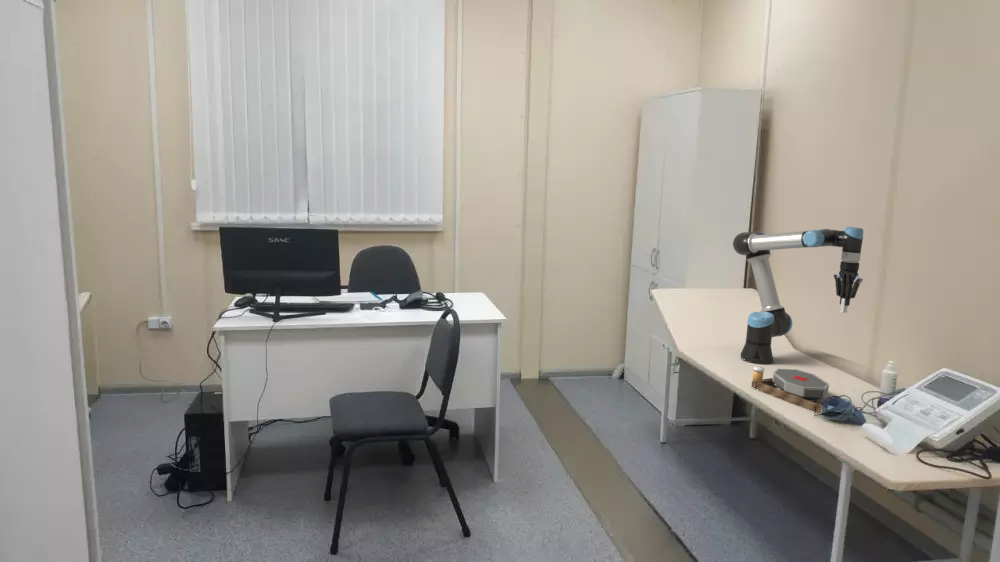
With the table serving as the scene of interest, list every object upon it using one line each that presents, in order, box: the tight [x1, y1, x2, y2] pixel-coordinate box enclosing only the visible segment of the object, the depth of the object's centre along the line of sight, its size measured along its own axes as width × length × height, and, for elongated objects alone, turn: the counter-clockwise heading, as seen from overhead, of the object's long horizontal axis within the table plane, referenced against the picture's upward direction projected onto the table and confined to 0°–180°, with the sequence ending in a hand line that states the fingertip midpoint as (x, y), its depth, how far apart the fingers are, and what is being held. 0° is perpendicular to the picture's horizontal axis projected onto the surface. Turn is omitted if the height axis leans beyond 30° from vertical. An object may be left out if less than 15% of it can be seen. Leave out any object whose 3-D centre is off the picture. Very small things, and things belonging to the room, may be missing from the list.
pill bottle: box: [752, 366, 765, 381], centre depth 283 cm, size 4×4×7 cm
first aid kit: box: [772, 368, 830, 402], centre depth 271 cm, size 18×8×25 cm
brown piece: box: [750, 377, 823, 414], centre depth 266 cm, size 33×12×3 cm, turn 28°
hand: (843, 312), depth 300 cm, fingers closed
